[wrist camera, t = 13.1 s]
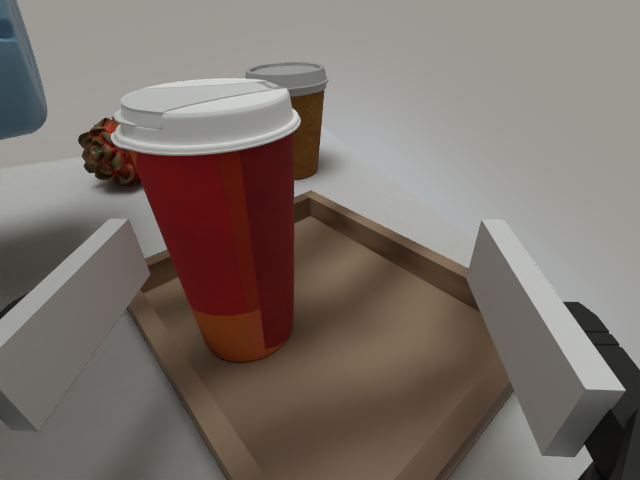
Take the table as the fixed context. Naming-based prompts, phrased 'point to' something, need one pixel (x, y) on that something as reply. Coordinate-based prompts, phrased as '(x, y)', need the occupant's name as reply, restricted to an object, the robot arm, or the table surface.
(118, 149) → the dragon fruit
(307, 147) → the disposable coffee cup
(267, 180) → the paper cup
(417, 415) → the walnut tray
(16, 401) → the robot arm
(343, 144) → the table surface
